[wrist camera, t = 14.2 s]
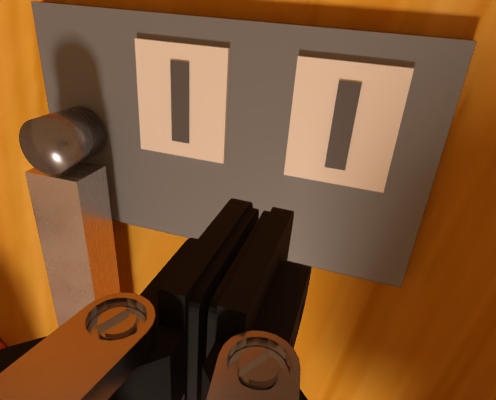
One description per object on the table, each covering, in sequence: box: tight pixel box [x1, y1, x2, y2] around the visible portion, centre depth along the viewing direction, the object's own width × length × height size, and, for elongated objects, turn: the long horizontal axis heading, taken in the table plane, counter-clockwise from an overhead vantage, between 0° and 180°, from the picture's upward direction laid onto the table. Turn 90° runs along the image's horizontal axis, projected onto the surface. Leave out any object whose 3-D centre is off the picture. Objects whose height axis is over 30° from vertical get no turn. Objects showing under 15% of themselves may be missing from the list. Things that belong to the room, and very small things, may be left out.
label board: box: [31, 2, 477, 288], centre depth 26 cm, size 15×26×1 cm, turn 86°
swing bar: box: [19, 106, 120, 327], centre depth 31 cm, size 4×24×4 cm, turn 177°
